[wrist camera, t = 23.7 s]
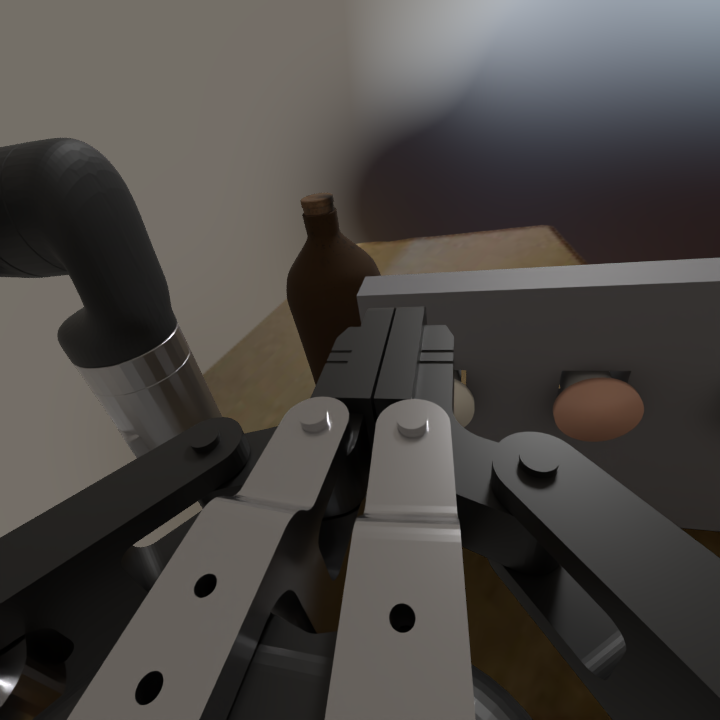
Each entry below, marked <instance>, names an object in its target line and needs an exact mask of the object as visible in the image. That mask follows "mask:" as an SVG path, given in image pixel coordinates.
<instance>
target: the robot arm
mask: <svg viewBox="0 0 720 720" xmlns="http://www.w3.org/2000/svg"><path fill="white" fill-rule="evenodd" d="M61 275H69V276H70V277H71V279H72V281H73V283H74V285H75V287H76V289H77V291H78V293H79V295H80V297H81V300H82V302H83V305H84V307H83V308H82V309H81V310H79V311H77V312H76V313H74V314H73V315H72V316H70V317H69V318H68V319H67V320H65V321H64V323H63V324H62V325H61V326H60V328H59V330H58V341H59V343H60V345H61V347H62V348H63V350H64V351H65V353H66V354H67V356H68V357H69V359H70V360H71V362H72V363H73V364H74V365H75V367H76V368H77V370H78V371H79V373H80V374H81V376H82V377H83V378H84V380H85V381H86V383H87V384H88V386H89V387H90V389H91V390H92V392H93V393H94V394H95V396H96V397H97V399H98V400H99V402H100V403H101V404H102V406H103V408H104V409H105V411H106V412H107V413H108V415H109V416H110V418H111V419H112V421H113V422H114V423H115V425H116V426H117V428H118V430H119V432H120V433H121V435H122V437H123V438H124V440H125V441H126V443H127V444H128V446H129V447H130V449H131V450H132V452H133V453H134V454H135V456H136V457H137V459H135V460H134V461H132V462H130V463H129V464H127V465H125V466H123V467H122V468H120V469H118V470H117V471H115V472H113V473H112V474H110V475H108V476H106V477H104V478H103V479H101V480H99V481H97V482H96V483H94V484H93V485H91V486H89V487H87V488H85V489H84V490H82V491H80V492H79V493H77V494H75V495H73V496H72V497H70V498H68V499H66V500H65V501H63V502H61V503H60V504H58V505H56V506H54V507H53V508H51V509H49V510H48V511H46V512H44V513H42V514H41V515H39V516H37V517H35V518H34V519H32V520H30V521H29V522H27V523H25V524H23V525H22V526H20V527H18V528H17V529H15V530H13V531H11V532H9V533H8V534H6V535H4V536H3V537H1V538H0V720H533V719H532V718H531V717H530V716H529V714H528V713H527V712H526V710H525V709H524V708H523V707H522V706H521V705H520V704H519V703H518V702H517V701H516V700H515V699H514V698H513V697H512V696H511V695H510V694H509V693H508V692H507V691H506V690H505V689H504V688H503V687H501V686H500V685H499V684H498V683H497V682H496V681H494V680H493V679H492V678H491V677H490V676H488V675H487V674H485V673H484V672H482V671H481V670H479V669H478V668H476V667H475V666H473V665H471V656H470V644H469V631H468V619H467V606H466V594H465V581H464V569H463V557H462V547H464V548H467V549H469V550H471V551H473V552H475V553H478V554H480V555H482V556H484V557H486V558H488V561H489V563H490V565H491V567H492V568H493V570H494V571H495V572H496V574H497V575H498V576H499V577H500V579H501V580H502V581H503V582H504V584H505V585H506V586H507V587H508V589H509V590H510V591H511V592H512V594H513V595H514V596H515V597H516V599H517V600H518V601H519V602H520V604H521V605H522V606H523V608H524V609H525V610H526V611H527V613H528V614H529V615H530V616H531V618H532V619H533V620H534V621H535V623H536V624H537V625H538V626H539V628H540V629H541V630H542V631H543V633H544V634H545V635H546V636H547V638H548V639H549V640H550V642H551V643H552V644H553V645H554V647H555V648H556V649H557V650H558V652H559V653H560V654H561V655H562V657H563V658H564V659H565V660H566V662H567V663H568V664H569V665H570V667H571V668H572V669H573V670H574V672H575V673H576V674H577V676H578V677H579V678H580V679H581V681H582V682H583V683H584V684H585V686H586V687H587V688H588V689H589V691H590V692H591V693H592V694H593V696H594V697H595V698H596V699H597V701H598V702H599V703H600V704H601V706H602V707H603V708H604V709H605V711H606V712H607V713H608V715H609V716H610V717H611V718H612V720H720V558H719V557H718V556H716V555H715V554H714V553H712V552H711V551H710V550H708V549H707V548H706V547H704V546H703V545H702V544H700V543H699V542H698V541H696V540H695V539H694V538H692V537H691V536H690V535H688V534H687V533H686V532H684V531H683V530H682V529H680V528H679V527H678V526H676V525H675V524H674V523H673V522H671V521H670V520H669V519H667V518H666V517H665V516H663V515H662V514H661V513H659V512H658V511H657V510H655V509H654V508H653V507H651V506H650V505H649V504H647V503H646V502H645V501H643V500H642V499H641V498H639V497H638V496H637V495H635V494H634V493H633V492H631V491H630V490H629V489H627V488H626V487H625V486H623V485H622V484H621V483H620V482H618V481H617V480H616V479H614V478H613V477H612V476H610V475H609V474H608V473H606V472H605V471H604V470H602V469H601V468H600V467H598V466H597V465H596V464H594V463H593V462H592V461H590V460H589V459H588V458H586V457H585V456H584V455H582V454H581V453H580V452H578V451H577V450H576V449H574V448H573V447H572V446H570V445H569V444H568V443H566V442H564V441H563V440H561V439H559V438H557V437H554V436H552V435H549V434H545V433H540V432H519V433H515V434H512V435H509V436H507V437H505V438H504V439H502V440H501V441H500V442H499V443H498V442H495V441H491V440H488V439H485V438H482V437H479V436H477V435H475V434H473V433H471V432H469V431H468V430H466V429H465V428H464V427H462V426H461V425H460V424H459V422H458V421H457V420H456V418H455V416H454V336H453V334H452V333H451V332H450V330H449V329H448V328H447V326H446V325H427V314H426V307H425V306H420V307H397V309H396V308H395V307H392V308H368V309H367V311H366V314H365V316H364V319H363V322H362V325H361V327H348V328H347V329H346V330H345V331H344V332H343V333H342V334H341V335H340V336H338V337H337V339H336V341H335V343H334V346H333V348H332V350H331V353H330V355H329V357H328V359H327V363H326V364H325V366H324V368H323V371H322V373H321V375H320V377H319V380H318V382H317V384H316V387H315V389H314V391H313V393H312V396H311V398H310V399H307V400H304V401H302V402H300V403H298V404H296V405H295V406H293V407H292V408H291V409H290V410H289V411H288V412H287V413H286V414H285V416H284V417H283V419H282V421H281V422H280V424H279V426H277V427H273V428H269V429H264V430H260V431H255V432H250V433H245V434H244V433H243V431H242V428H241V426H240V425H239V423H238V422H237V421H235V420H233V419H231V418H226V417H222V415H221V413H220V411H219V409H218V407H217V405H216V403H215V400H214V398H213V396H212V394H211V392H210V390H209V388H208V386H207V384H206V381H205V379H204V377H203V375H202V373H201V371H200V369H199V367H198V365H197V362H196V360H195V358H194V356H193V354H192V352H191V350H190V348H189V346H188V343H187V341H186V339H185V337H184V335H183V333H182V331H181V329H180V327H179V324H178V322H177V320H176V318H175V315H174V313H173V311H172V308H171V303H170V296H169V290H168V286H167V282H166V279H165V276H164V274H163V271H162V269H161V266H160V264H159V261H158V259H157V256H156V254H155V251H154V249H153V247H152V244H151V241H150V239H149V236H148V234H147V231H146V228H145V226H144V223H143V221H142V218H141V215H140V213H139V211H138V208H137V206H136V204H135V201H134V200H133V197H132V195H131V193H130V191H129V189H128V187H127V186H126V184H125V182H124V181H123V179H122V177H121V176H120V174H119V173H118V172H117V170H116V169H115V168H114V166H113V165H112V164H111V163H110V162H109V161H108V160H107V159H106V158H105V157H104V156H103V155H102V154H101V153H100V152H99V151H98V150H96V149H95V148H93V147H92V146H90V145H88V144H87V143H85V142H82V141H79V140H76V139H71V138H54V139H46V140H39V141H33V142H27V143H21V144H16V145H10V146H5V147H0V277H22V278H40V277H41V278H42V277H50V276H61ZM367 488H368V489H367ZM197 501H198V502H199V503H200V505H201V506H202V508H203V510H202V511H200V512H199V513H197V514H196V515H195V516H193V517H192V518H190V519H189V520H188V521H186V522H184V523H183V524H182V525H180V526H179V527H177V528H176V529H174V530H173V531H171V532H170V533H168V534H167V535H166V536H164V537H163V538H161V539H160V540H158V541H157V542H155V543H154V544H152V545H150V546H147V547H141V548H140V547H135V546H133V544H135V543H136V542H137V541H139V540H141V539H142V538H143V537H145V536H146V535H148V534H149V533H151V532H152V531H154V530H155V529H157V528H158V527H159V526H161V525H163V524H164V523H166V522H167V521H169V520H170V519H172V518H173V517H175V516H176V515H178V514H179V513H180V512H182V511H183V510H185V509H186V508H188V507H189V506H191V505H192V504H194V503H195V502H197ZM344 584H345V586H344ZM343 589H344V593H343ZM342 595H343V600H342Z"/></svg>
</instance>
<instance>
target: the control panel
mask: <svg viewBox="0 0 720 720" xmlns="http://www.w3.org/2000/svg"><path fill="white" fill-rule="evenodd" d="M357 302H358V308H359V314H360V320H361V325H362V322H363V319H364V316H365V314H366V311H367V309H368V308H392V307H395V308H396V309H397V307H420V306H425V307H426V314H427V325H446V326H447V328H448V329H449V330H450V332H451V333H452V334H453V336H454V370H466V387H467V388H468V389H469V390H470V391H471V393H472V395H473V398H474V409H475V410H474V415H473V418H472V420H471V421H470V422H469V424H467V425H466V426H465V427H464V428H465V429H466V430H468V431H469V432H471V433H473V434H475V435H477V436H479V437H482V438H485V439H488V440H491V441H495V442H498V443H499V442H500V441H501V440H502V439H504V438H505V437H507V436H509V435H512V434H515V433H519V432H540V433H545V434H549V435H552V436H554V437H557V438H559V439H561V440H563V441H564V442H566V443H568V444H569V445H570V446H572V447H573V448H574V449H576V450H577V451H578V452H580V453H581V454H582V455H584V456H585V457H586V458H588V459H589V460H590V461H592V462H593V463H594V464H596V465H597V466H598V467H600V468H601V469H602V470H604V471H605V472H606V473H608V474H609V475H610V476H612V477H613V478H614V479H616V480H617V481H618V482H620V483H621V484H622V485H623V486H625V487H626V488H627V489H629V490H630V491H631V492H633V493H634V494H635V495H637V496H638V497H639V498H641V499H642V500H643V501H645V502H646V503H647V504H649V505H650V506H651V507H653V508H654V509H655V510H657V511H658V512H659V513H661V514H662V515H663V516H665V517H666V518H667V519H669V520H670V521H671V522H673V523H674V524H675V525H676V526H678V527H679V528H688V529H699V530H710V531H720V258H706V259H687V260H668V261H649V262H631V263H612V264H594V265H575V266H556V267H537V268H518V269H500V270H481V271H462V272H444V273H425V274H406V275H387V276H369V277H365V279H364V281H363V283H362V285H361V287H360V290H359V292H358V294H357ZM562 371H610V374H611V376H612V378H614V379H618V380H621V381H624V382H626V383H628V384H630V385H631V386H632V387H633V388H634V389H635V390H636V391H637V392H638V394H639V396H640V398H641V400H642V402H643V405H644V413H643V417H642V419H641V420H640V422H639V423H638V424H637V426H636V427H635V428H633V429H632V430H631V431H629V432H628V433H626V434H624V435H622V436H620V437H617V438H614V439H611V440H606V441H598V442H589V441H581V440H577V439H574V438H571V437H569V436H567V435H566V434H564V433H563V432H562V431H561V430H560V429H559V428H558V427H557V425H556V423H555V419H554V415H553V405H554V402H555V400H556V398H557V397H558V395H559V394H560V393H561V392H562V391H561V389H558V388H559V383H560V377H561V372H562Z"/></svg>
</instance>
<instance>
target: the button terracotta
mask: <svg viewBox="0 0 720 720" xmlns="http://www.w3.org/2000/svg"><path fill="white" fill-rule="evenodd" d="M559 384H560V387H561V391H562V392H561V393H560V394H559V395H558V397H557V398H556V400H555V402H554V405H553V415H554V419H555V423H556V425H557V427H558V428H559V429H560V430H561V431H562V432H563V433H564V434H566V435H567V436H569V437H571V438H574V439H577V440H581V441H589V442H598V441H606V440H611V439H614V438H617V437H620V436H622V435H624V434H626V433H628V432H629V431H631V430H632V429H633V428H635V427H636V426H637V424H638V423H639V422H640V420H641V419H642V417H643V413H644V405H643V402H642V400H641V398H640V396H639V394H638V392H637V391H636V390H635V389H634V388H633V387H632V386H631V385H630V384H628V383H626V382H624V381H621V380H618V379H614V378H612V376H611V374H610V372H609V371H562V372H561V377H560V383H559Z"/></svg>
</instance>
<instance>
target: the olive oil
mask: <svg viewBox="0 0 720 720" xmlns="http://www.w3.org/2000/svg"><path fill="white" fill-rule="evenodd" d="M333 201H334V200H333V195H332V194H330V193H318V194H313V195H309V196H306V197H304V198H303V199H301V205H302V208H303V211H304V213H303V215H302V216H303V219H304V224H305V228H306V231H307V235H308V238H307V241H306V243H305V245H304V247H303V248H302V250H301V252H300V253H299V255H298V257H297V258H296V260H295V262H294V263H293V265H292V267H291V269H290V271H289V274H288V278H287V299H288V303H289V307H290V310H291V312H292V315H293V318H294V321H295V324H296V327H297V330H298V333H299V336H300V339H301V342H302V344H303V347H304V351H305V354H306V357H307V360H308V363H309V366H310V369H311V372H312V375H313V378H314V381H315V384H317V382H318V380H319V377H320V375H321V373H322V371H323V368H324V366H325V364H326V363H327V359H328V357H329V355H330V353H331V350H332V348H333V346H334V343H335V341H336V339H337V337H338V336H340V335H341V334H342V333H343V332H344V331H345V330H346V329H347V328H348V327H361V320H360V314H359V308H358V302H357V294H358V292H359V290H360V287H361V285H362V283H363V281H364V279H365V277H369V276H381V275H380V272H379V270H378V268H377V266H376V264H375V262H374V260H373V259H372V258H371V257H370V256H369V255H368V254H367V253H366V252H365V251H364V250H362V249H361V248H360V247H358V246H357V245H356V244H355V243H353V242H352V241H350V240H349V239H348V238H347V237H345V236H344V235H343V234H342V233H341V232H340V230H339V223H338V217H337V211H336V208H335V207H334V205H333Z"/></svg>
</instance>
